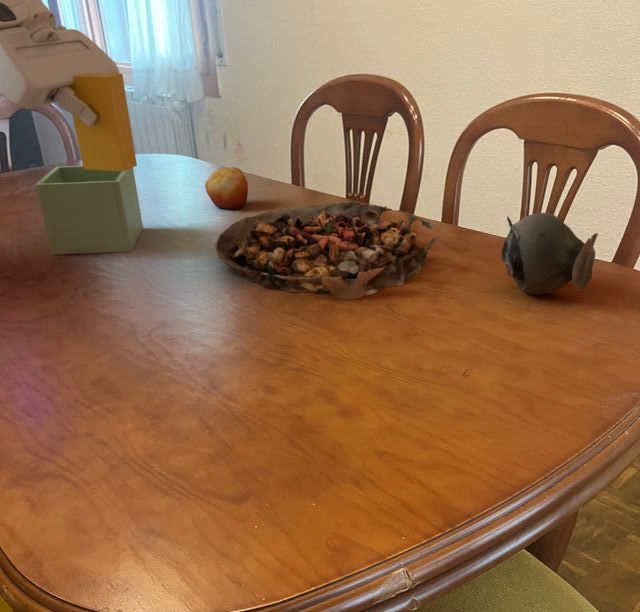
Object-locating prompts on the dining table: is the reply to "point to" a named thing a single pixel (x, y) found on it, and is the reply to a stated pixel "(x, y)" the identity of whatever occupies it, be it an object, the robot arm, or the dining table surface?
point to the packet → (104, 123)
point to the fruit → (227, 188)
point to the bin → (89, 210)
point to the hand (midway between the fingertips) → (105, 118)
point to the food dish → (324, 249)
